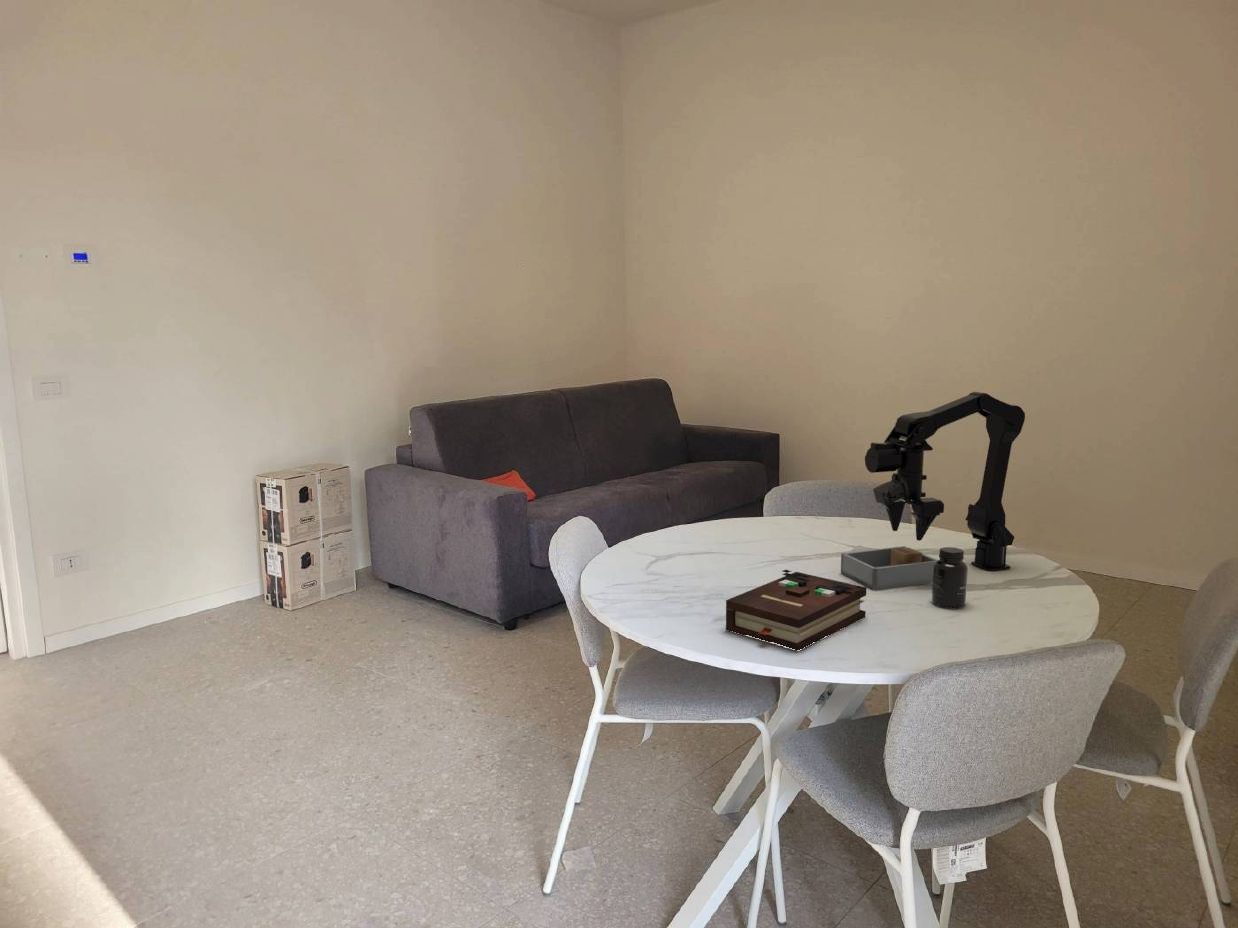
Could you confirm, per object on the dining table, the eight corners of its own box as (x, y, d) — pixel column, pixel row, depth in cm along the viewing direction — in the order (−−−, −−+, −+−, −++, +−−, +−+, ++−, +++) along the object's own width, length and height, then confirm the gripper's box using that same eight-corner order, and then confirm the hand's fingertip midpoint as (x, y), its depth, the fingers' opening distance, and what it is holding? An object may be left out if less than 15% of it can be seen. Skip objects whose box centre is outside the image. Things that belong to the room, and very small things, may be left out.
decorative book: (713, 597, 180) (797, 564, 201) (713, 634, 181) (796, 597, 202) (797, 620, 167) (877, 582, 188) (796, 659, 168) (876, 617, 189)
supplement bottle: (968, 610, 191) (971, 554, 189) (934, 608, 193) (936, 553, 191) (962, 599, 198) (965, 546, 196) (929, 597, 199) (932, 544, 197)
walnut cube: (908, 567, 218) (908, 547, 217) (921, 573, 213) (922, 552, 213) (890, 569, 217) (891, 549, 216) (903, 575, 212) (903, 554, 211)
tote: (903, 565, 223) (904, 546, 222) (939, 581, 210) (940, 561, 209) (840, 573, 217) (841, 553, 217) (873, 590, 205) (874, 569, 204)
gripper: (857, 465, 217) (854, 529, 220) (904, 480, 199) (901, 549, 202) (897, 462, 220) (894, 525, 223) (947, 476, 203) (943, 544, 206)
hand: (906, 535), depth 213 cm, fingers open, 9 cm apart
